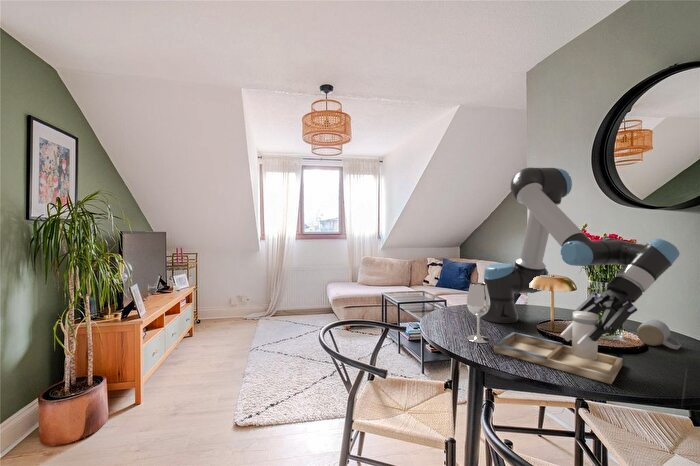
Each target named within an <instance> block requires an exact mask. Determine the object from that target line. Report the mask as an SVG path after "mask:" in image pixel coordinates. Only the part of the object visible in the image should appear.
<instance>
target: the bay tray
mask: <svg viewBox="0 0 700 466" xmlns="http://www.w3.org/2000/svg"><path fill="white" fill-rule="evenodd" d="M493 354H496V355H499V354H500V355H505V356H509V357H512V358H516V359H519V360H522V361H527V362H529V363H533V364H537V365H540V366H544V367H548V368H551V369H555V370H559V371H563V372H565V373H568V374H569V373H570V374H573V375H577V376H580V377H584V378H586V379H591V380H594V381H598V382H602V383H605V384H608V385H613V382H614V381H615V379H616V377H617V376H618V373H620V370H621V369H622V367H623V358H622V357H618V356H613V355H610V354H605V353H601V352H597V359H595V360H588V359H582V358H579V357H576V356H574V355H573V354H572V345H571V346H570V345H565V344H563V342H559V341H554V340H551V339H546V338H542V337H538V336H534V335H533V336H532V335H529V334H525V333H519V332H515V331H513V332H510V333H509V334H508V335H506V336H504V337H503V338H501V339H499V340H497V341H496V342H494V343H493Z"/></svg>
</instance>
